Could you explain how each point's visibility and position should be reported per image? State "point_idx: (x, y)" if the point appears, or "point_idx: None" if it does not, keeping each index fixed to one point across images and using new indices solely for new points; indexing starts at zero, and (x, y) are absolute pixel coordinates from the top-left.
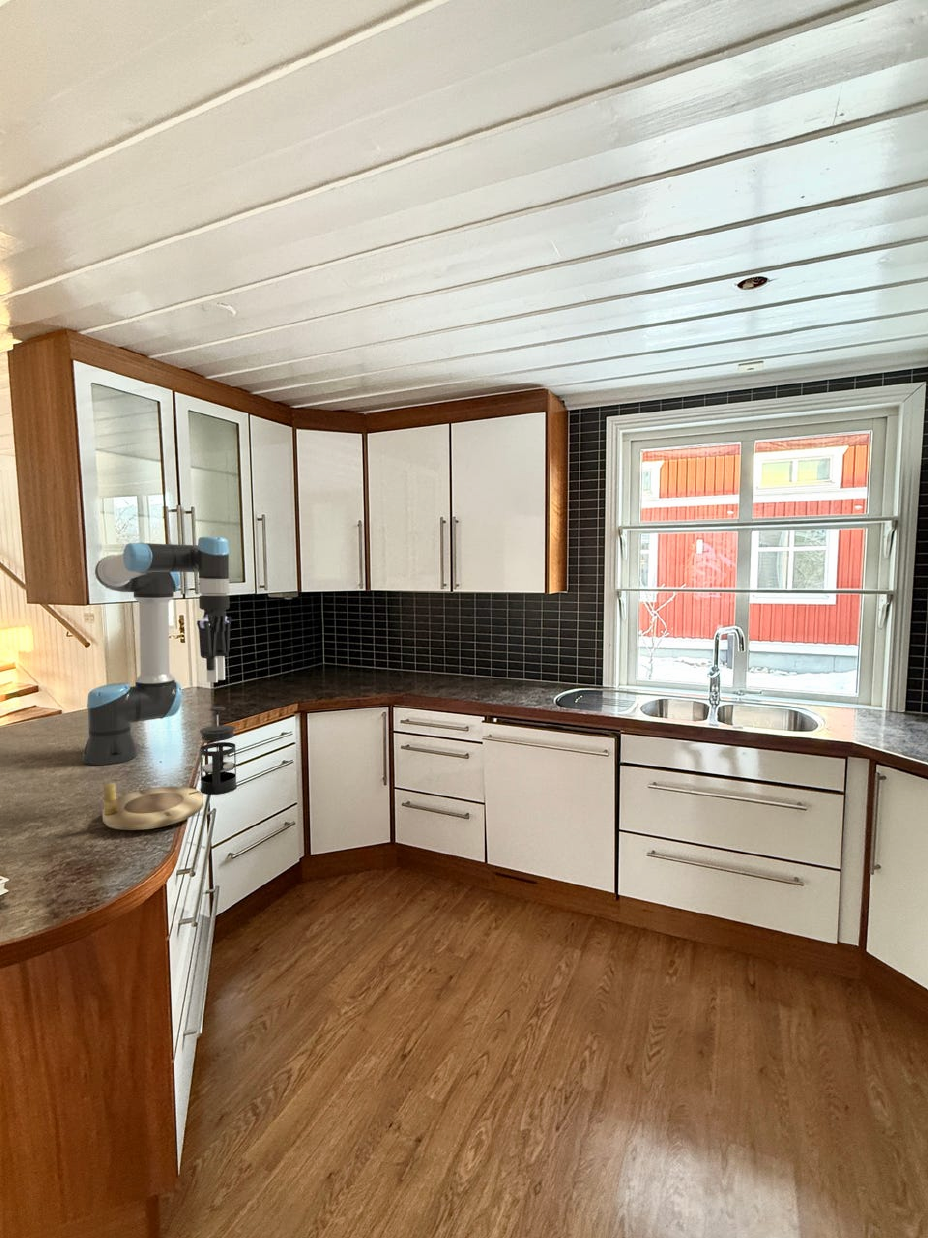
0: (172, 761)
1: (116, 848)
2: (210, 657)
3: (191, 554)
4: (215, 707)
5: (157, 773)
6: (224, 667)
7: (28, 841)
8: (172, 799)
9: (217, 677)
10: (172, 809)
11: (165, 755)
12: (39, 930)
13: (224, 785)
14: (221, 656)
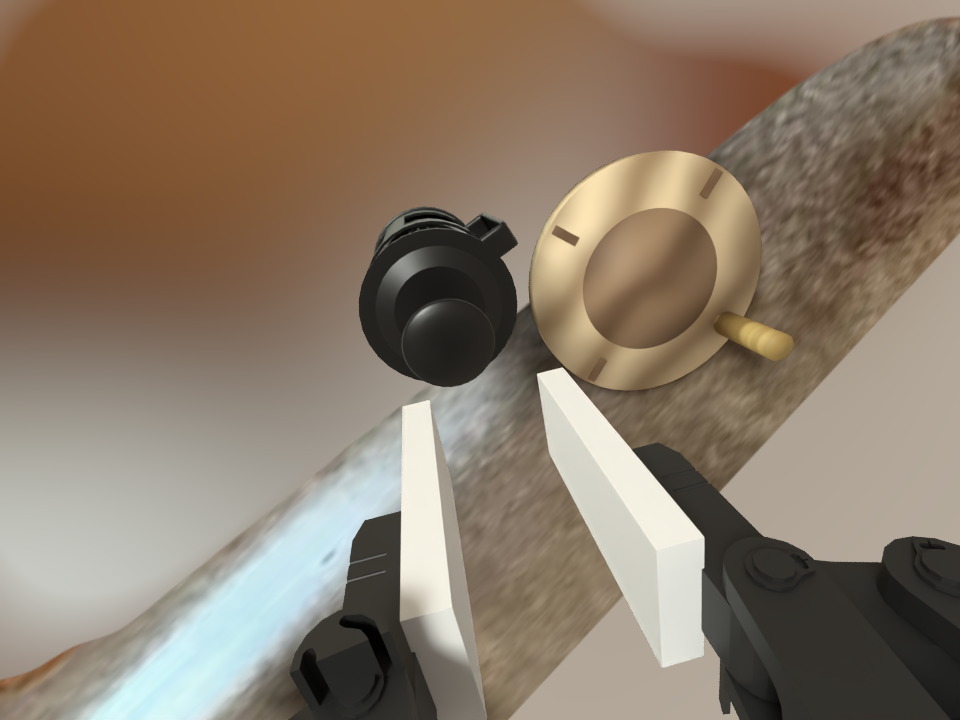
0: (310, 538)
1: (795, 210)
2: (824, 563)
3: None
4: (454, 356)
5: None
6: (413, 480)
7: (780, 397)
8: (623, 254)
9: (555, 390)
10: (680, 198)
11: (282, 587)
12: None
13: (453, 218)
14: (460, 630)
